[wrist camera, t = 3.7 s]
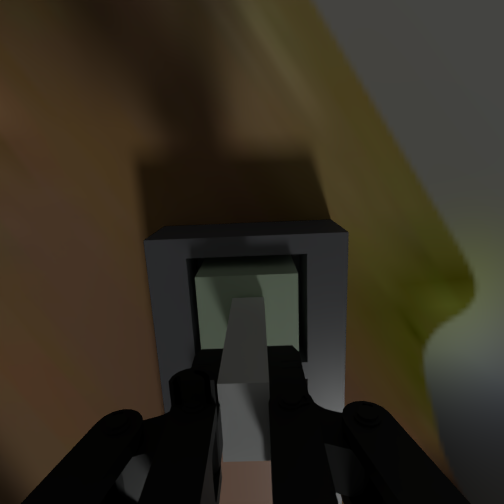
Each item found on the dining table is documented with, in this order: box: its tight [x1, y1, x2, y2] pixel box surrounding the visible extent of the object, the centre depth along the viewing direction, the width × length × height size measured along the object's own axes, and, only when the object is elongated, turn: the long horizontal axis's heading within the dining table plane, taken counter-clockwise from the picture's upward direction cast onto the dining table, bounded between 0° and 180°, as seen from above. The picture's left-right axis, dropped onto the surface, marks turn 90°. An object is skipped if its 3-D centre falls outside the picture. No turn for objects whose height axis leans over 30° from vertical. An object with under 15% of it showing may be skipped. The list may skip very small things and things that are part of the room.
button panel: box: [144, 219, 348, 504], centre depth 21 cm, size 10×22×4 cm, turn 3°
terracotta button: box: [219, 454, 273, 504], centre depth 19 cm, size 5×5×4 cm
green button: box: [195, 254, 299, 351], centre depth 18 cm, size 5×5×4 cm
